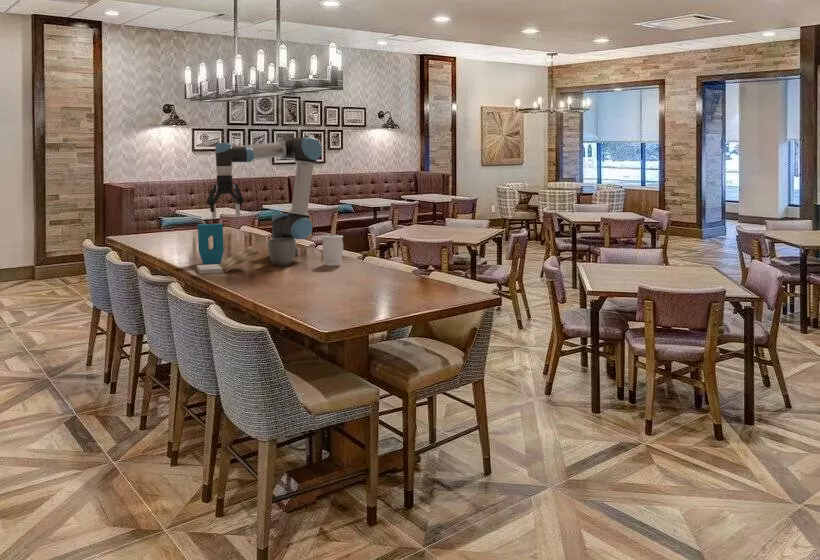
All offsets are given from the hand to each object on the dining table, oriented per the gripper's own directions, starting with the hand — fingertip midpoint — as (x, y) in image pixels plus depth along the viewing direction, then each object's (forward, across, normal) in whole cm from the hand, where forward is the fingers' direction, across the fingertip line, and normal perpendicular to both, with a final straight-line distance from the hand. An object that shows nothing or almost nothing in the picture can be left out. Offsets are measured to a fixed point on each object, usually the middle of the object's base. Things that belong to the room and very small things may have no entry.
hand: (226, 217), depth 380 cm
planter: (+25, -21, +16) cm, 36 cm away
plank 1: (+20, 0, +8) cm, 22 cm away
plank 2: (+20, +3, +16) cm, 26 cm away
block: (+24, +1, -14) cm, 28 cm away
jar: (+25, -40, +34) cm, 58 cm away
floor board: (+24, +15, +7) cm, 29 cm away
